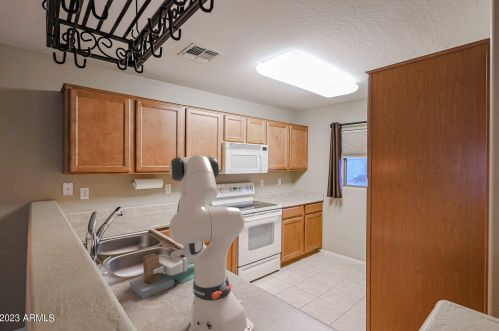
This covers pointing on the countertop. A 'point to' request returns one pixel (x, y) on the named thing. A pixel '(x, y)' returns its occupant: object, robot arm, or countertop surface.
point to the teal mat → (184, 275)
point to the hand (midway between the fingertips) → (149, 269)
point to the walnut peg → (149, 264)
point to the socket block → (151, 285)
